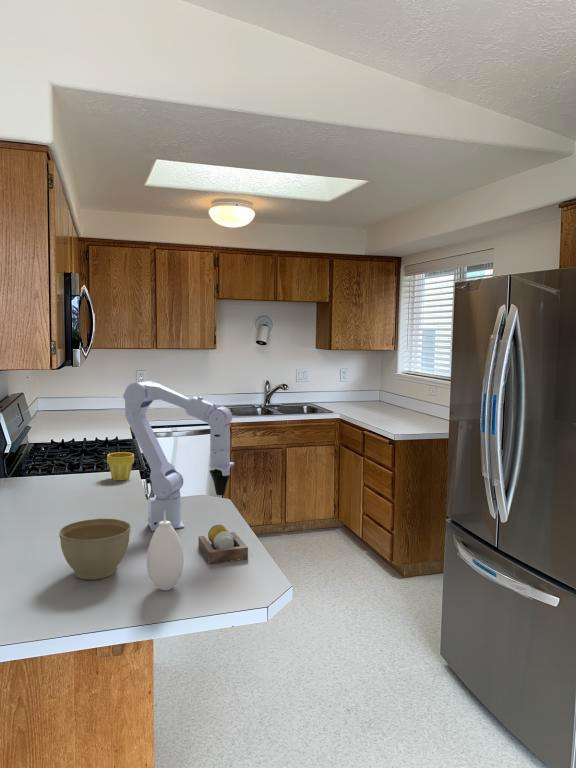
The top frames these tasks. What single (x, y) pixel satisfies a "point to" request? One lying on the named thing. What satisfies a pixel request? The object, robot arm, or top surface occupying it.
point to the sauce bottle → (165, 556)
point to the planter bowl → (94, 546)
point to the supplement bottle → (220, 537)
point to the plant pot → (120, 465)
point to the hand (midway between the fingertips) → (220, 494)
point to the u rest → (223, 550)
